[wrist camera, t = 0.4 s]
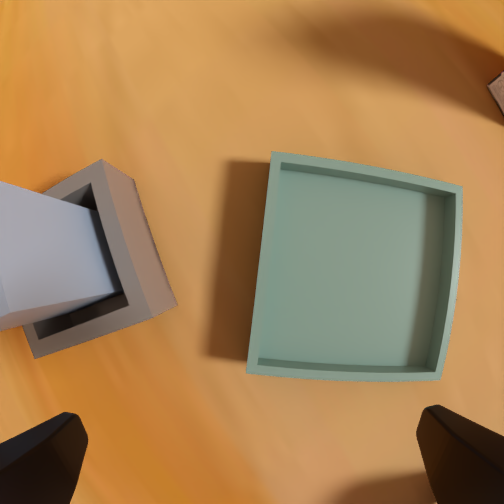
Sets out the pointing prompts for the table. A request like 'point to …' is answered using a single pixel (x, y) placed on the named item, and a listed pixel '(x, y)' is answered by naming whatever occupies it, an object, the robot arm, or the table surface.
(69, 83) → the table surface
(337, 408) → the table surface
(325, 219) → the tray
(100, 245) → the block
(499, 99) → the candy bar box
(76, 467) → the robot arm
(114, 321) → the holder
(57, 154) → the table surface
